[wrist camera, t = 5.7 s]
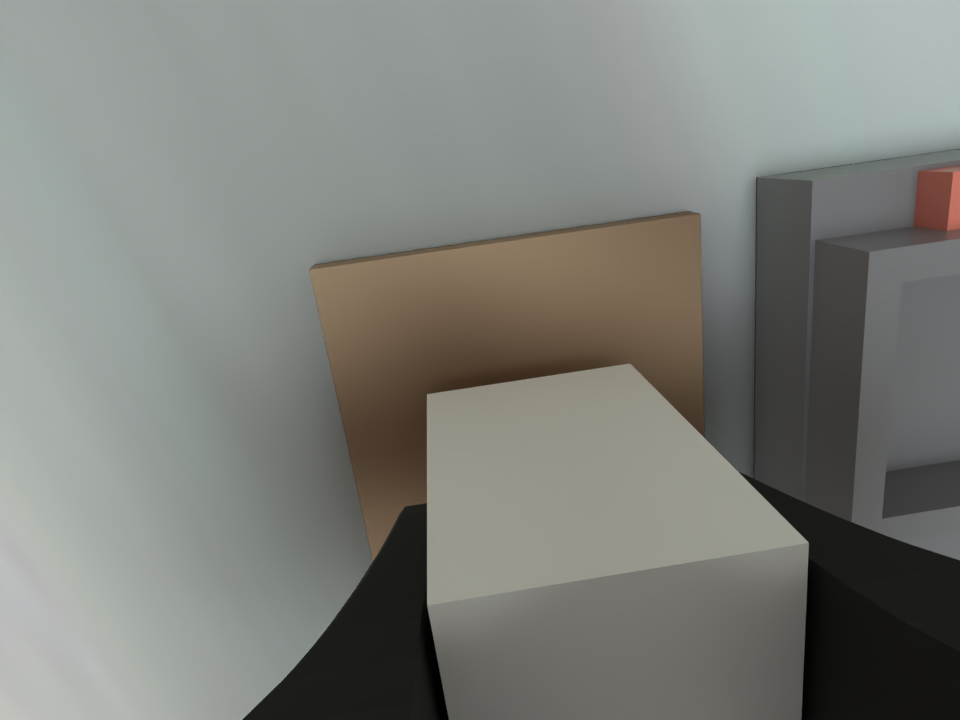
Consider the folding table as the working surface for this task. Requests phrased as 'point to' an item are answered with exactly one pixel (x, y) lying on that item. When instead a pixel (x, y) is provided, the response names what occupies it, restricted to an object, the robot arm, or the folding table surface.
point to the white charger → (603, 560)
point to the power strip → (863, 344)
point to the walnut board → (502, 332)
